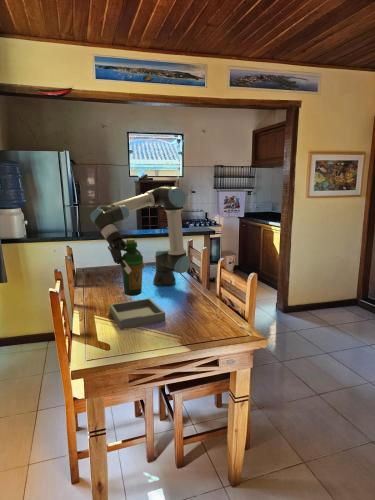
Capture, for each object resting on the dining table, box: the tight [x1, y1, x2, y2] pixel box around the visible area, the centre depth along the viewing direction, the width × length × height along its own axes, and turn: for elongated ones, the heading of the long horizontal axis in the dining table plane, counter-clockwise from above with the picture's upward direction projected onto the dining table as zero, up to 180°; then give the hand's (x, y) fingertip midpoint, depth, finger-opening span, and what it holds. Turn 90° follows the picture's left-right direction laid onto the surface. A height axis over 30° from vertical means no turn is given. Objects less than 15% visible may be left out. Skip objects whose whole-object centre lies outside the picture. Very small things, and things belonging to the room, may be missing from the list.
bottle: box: [121, 238, 144, 297], centre depth 158 cm, size 11×11×28 cm
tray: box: [108, 297, 166, 331], centre depth 162 cm, size 22×22×4 cm
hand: (137, 269), depth 157 cm, fingers closed on bottle, 10 cm apart
